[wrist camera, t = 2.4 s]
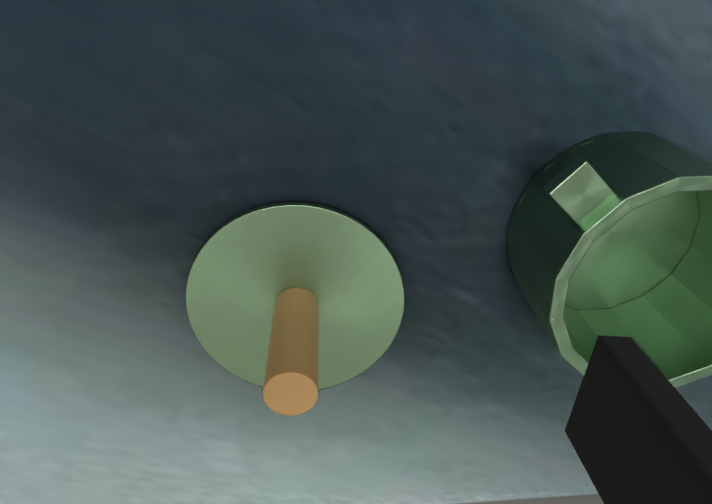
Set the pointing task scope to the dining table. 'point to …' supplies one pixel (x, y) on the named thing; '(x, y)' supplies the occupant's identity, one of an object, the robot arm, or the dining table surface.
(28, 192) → the dining table surface
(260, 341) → the lid
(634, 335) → the pot
